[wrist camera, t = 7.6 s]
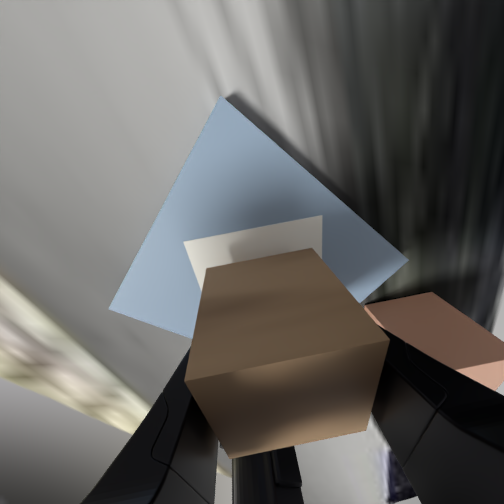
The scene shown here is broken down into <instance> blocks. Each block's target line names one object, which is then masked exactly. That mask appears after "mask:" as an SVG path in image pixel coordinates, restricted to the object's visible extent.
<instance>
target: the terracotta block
mask: <svg viewBox="0 0 504 504" xmlns="http://www.w3.org/2000/svg"><path fill="white" fill-rule="evenodd" d="M364 310H365V311H366V312H367V313H368V314H369V315H370V317H371V318H372V319H373V320H374V321H375V323H376V324H378V325H379V326H381V327H382V328H384V329H386V330H387V331H389V332H391V333H392V334H394V335H396V336H397V337H399V338H400V339H402V340H404V341H405V343H409V344H410V345H412V346H414V347H415V348H417V349H419V350H420V351H422V352H424V353H425V354H427V355H429V356H430V357H432V358H434V359H436V360H438V361H439V362H441V363H443V364H445V365H447V366H449V367H450V368H452V369H454V370H456V371H458V372H460V373H462V374H464V375H465V376H467V377H469V378H471V379H473V380H475V381H477V382H479V383H481V384H482V385H484V386H486V387H488V388H490V389H492V390H494V391H496V389H497V388H498V387H499V386H500V385H501V383H502V382H503V381H504V342H503V341H501V340H500V339H498V338H497V337H496V336H494V335H493V334H491V333H490V332H489V331H487V330H486V329H484V328H483V327H481V326H480V325H479V324H477V323H476V322H474V321H473V320H471V319H470V318H469V317H467V316H466V315H464V314H463V313H461V312H460V311H459V310H457V309H456V308H454V307H453V306H451V305H450V304H449V303H447V302H446V301H444V300H443V299H441V298H440V297H439V296H437V295H436V294H434V293H433V292H428V293H423V294H418V295H413V296H408V297H403V298H398V299H393V300H388V301H383V302H378V303H373V304H368V305H365V307H364Z"/></svg>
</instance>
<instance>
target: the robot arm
mask: <svg viewBox="0 0 504 504" xmlns="http://www.w3.org/2000/svg"><path fill="white" fill-rule="evenodd" d="M377 325H378V324H377ZM378 326H379V325H378ZM379 327H380V328H381V330H382V331H383V332H384V333H385V334H386V336H387V337H388V338H389V339H390V342H389V345H388V349H387V353H386V357H385V361H384V364H383V368H382V372H381V376H380V380H379V383H378V387H377V391H376V395H375V399H374V402H373V406H372V410H371V412H372V414H373V416H374V418H375V419H376V421H377V423H378V425H379V427H380V429H381V430H382V432H383V434H384V436H385V438H386V439H387V441H388V443H389V445H390V447H391V449H392V450H393V452H394V454H395V456H396V458H397V460H398V461H399V463H400V465H401V467H402V468H403V471H404V473H405V474H406V476H407V478H408V480H409V482H410V483H411V485H412V487H413V489H414V491H415V493H416V494H417V496H418V498H419V500H420V502H421V504H504V396H503V395H501V394H499V393H498V392H496V391H494V390H492V389H490V388H488V387H486V386H484V385H482V384H481V383H479V382H477V381H475V380H473V379H471V378H469V377H467V376H465V375H464V374H462V373H460V372H458V371H456V370H454V369H452V368H450V367H449V366H447V365H445V364H443V363H441V362H439V361H438V360H436V359H434V358H432V357H430V356H429V355H427V354H425V353H424V352H422V351H420V350H419V349H417V348H415V347H414V346H412V345H410V344H409V343H405V341H404V340H402V339H400V338H399V337H397V336H396V335H394V334H392V333H391V332H389V331H387V330H386V329H384V328H382V327H381V326H379ZM190 349H191V347H190V348H189V350H188V352H187V353H186V355H185V356H184V358H183V359H182V361H181V363H180V364H179V366H178V367H177V369H176V371H175V372H174V374H173V375H172V377H171V378H170V380H169V382H168V383H167V385H166V386H165V388H164V389H163V392H162V393H161V394H160V396H159V397H158V399H157V400H156V402H155V403H154V405H153V407H152V408H151V410H150V411H149V413H148V414H147V416H146V417H145V419H144V420H143V421H142V423H141V424H140V426H139V427H138V428H137V430H136V431H135V433H134V434H133V435H132V437H131V438H130V439H129V441H128V442H127V443H126V445H125V446H124V448H123V449H122V450H121V452H120V453H119V454H118V456H117V457H116V458H115V460H114V461H113V462H112V464H111V465H110V466H109V468H108V469H107V471H106V472H105V473H104V475H103V476H102V477H101V479H100V480H99V481H98V483H97V484H96V485H95V486H94V488H93V489H92V490H91V491H90V493H89V494H88V495H87V496H86V497H85V498H84V499H83V500H82V502H81V503H80V504H214V499H215V483H216V468H217V453H218V438H217V436H216V435H215V433H214V431H213V430H212V428H211V426H210V424H209V423H208V421H207V419H206V418H205V416H204V414H203V413H202V411H201V409H200V407H199V406H198V404H197V402H196V401H195V399H194V397H193V395H192V394H191V392H190V390H189V389H188V387H187V385H186V383H185V382H184V380H185V375H186V370H187V365H188V360H189V354H190ZM220 448H223V447H222V445H221V443H220ZM223 449H224V448H223ZM301 486H302V480H301V475H300V471H299V466H298V462H297V457H296V453H295V448H294V446H290V447H285V448H280V449H275V450H271V451H266V452H261V453H256V454H251V455H247V456H242V457H237V458H232V504H304V501H303V497H302V492H301Z"/></svg>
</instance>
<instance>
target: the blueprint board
mask: <svg viewBox="0 0 504 504" xmlns="http://www.w3.org/2000/svg"><path fill="white" fill-rule="evenodd" d="M308 248H313V249H314V251H315V252H316V253H317V254H318V255H319V256H320V258H321V259H322V260H323V261H324V262H325V264H326V265H327V266H328V267H329V268H330V269H331V271H332V272H333V273H334V274H335V275H336V277H337V278H338V279H339V280H340V281H341V282H342V284H343V285H344V286H345V287H346V288H347V290H348V291H349V292H350V293H351V294H352V295H353V297H354V298H355V299H356V300H357V301H358V302H359V303H360V302H361V301H363V300H364V299H365V298H366V297H367V296H368V295H369V294H371V293H372V292H373V291H374V290H375V289H376V288H378V287H379V286H380V285H381V284H382V283H383V282H384V281H386V280H387V279H388V278H389V277H390V276H391V275H392V274H394V273H395V272H396V271H397V270H398V269H399V268H400V267H402V266H403V265H404V264H405V263H406V262H407V261H408V259H407V258H406V257H405V256H404V255H403V254H401V253H400V252H399V251H398V250H397V249H396V248H395V247H393V246H392V245H391V244H390V243H389V242H388V241H387V240H385V239H384V238H383V237H382V236H381V235H380V234H379V233H377V232H376V231H375V230H374V229H373V228H372V227H371V226H369V225H368V224H367V223H366V222H365V221H364V220H363V219H361V218H360V217H359V216H358V215H357V214H356V213H355V212H353V211H352V210H351V209H350V208H349V207H348V206H347V205H345V204H344V203H343V202H342V201H341V200H340V199H339V198H337V197H336V196H335V195H334V194H333V193H332V192H331V191H329V190H328V189H327V188H326V187H325V186H324V185H323V184H321V183H320V182H319V181H318V180H317V179H316V178H315V177H313V176H312V175H311V174H310V173H309V172H308V171H307V170H305V169H304V168H303V167H302V166H301V165H300V164H299V163H297V162H296V161H295V160H294V159H293V158H292V157H291V156H289V155H288V154H287V153H286V152H285V151H284V150H283V149H281V148H280V147H279V146H278V145H277V144H276V143H275V142H273V141H272V140H271V139H270V138H269V137H268V136H267V135H265V134H264V133H263V132H262V131H261V130H260V129H259V128H257V127H256V126H255V125H254V124H253V123H252V122H251V121H249V120H248V119H247V118H246V117H245V116H244V115H243V114H241V113H240V112H239V111H238V110H237V109H236V108H235V107H233V106H232V105H231V104H230V103H229V102H228V101H227V100H225V99H224V98H223V97H222V96H220V98H219V99H218V101H217V103H216V105H215V107H214V109H213V111H212V113H211V115H210V117H209V118H208V120H207V122H206V124H205V126H204V128H203V130H202V132H201V134H200V136H199V138H198V139H197V141H196V143H195V145H194V147H193V149H192V151H191V153H190V155H189V157H188V158H187V160H186V162H185V164H184V166H183V168H182V170H181V172H180V174H179V176H178V178H177V179H176V181H175V183H174V185H173V187H172V189H171V191H170V193H169V195H168V197H167V198H166V200H165V202H164V204H163V206H162V208H161V210H160V212H159V214H158V216H157V218H156V219H155V221H154V223H153V225H152V227H151V229H150V231H149V233H148V235H147V237H146V238H145V240H144V242H143V244H142V246H141V248H140V250H139V252H138V254H137V256H136V258H135V259H134V261H133V263H132V265H131V267H130V269H129V271H128V273H127V275H126V277H125V278H124V280H123V282H122V284H121V286H120V288H119V290H118V292H117V294H116V296H115V298H114V299H113V301H112V303H111V305H110V307H109V310H112V311H115V312H118V313H121V314H124V315H126V316H129V317H132V318H135V319H138V320H140V321H143V322H146V323H149V324H152V325H154V326H157V327H160V328H163V329H166V330H169V331H171V332H174V333H177V334H180V335H183V336H185V337H188V338H191V339H193V334H194V329H195V324H196V319H197V313H198V308H199V303H200V298H201V293H202V288H203V283H204V278H205V273H206V268H210V267H215V266H221V265H226V264H231V263H236V262H241V261H246V260H251V259H257V258H262V257H267V256H272V255H277V254H282V253H287V252H293V251H298V250H303V249H308Z"/></svg>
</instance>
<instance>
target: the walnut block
mask: <svg viewBox="0 0 504 504" xmlns="http://www.w3.org/2000/svg"><path fill="white" fill-rule="evenodd" d="M389 342H390V339H389V338H388V337H387V336H386V334H385V333H384V332H383V331H382V330H381V328H380V327H379V326H378V325H377V324H376V323H375V321H374V320H373V319H372V318H371V317H370V315H369V314H368V313H367V312H366V311H365V310H364V308H363V307H362V306H361V305H360V304H359V302H358V301H357V300H356V299H355V298H354V297H353V295H352V294H351V293H350V292H349V291H348V290H347V288H346V287H345V286H344V285H343V284H342V282H341V281H340V280H339V279H338V278H337V277H336V275H335V274H334V273H333V272H332V271H331V269H330V268H329V267H328V266H327V265H326V264H325V262H324V261H323V260H322V259H321V258H320V256H319V255H318V254H317V253H316V252H315V251H314V249H313V248H308V249H303V250H298V251H293V252H287V253H282V254H277V255H272V256H267V257H262V258H257V259H251V260H246V261H241V262H236V263H231V264H226V265H221V266H215V267H210V268H206V273H205V278H204V283H203V288H202V293H201V298H200V303H199V308H198V313H197V319H196V324H195V329H194V334H193V339H192V344H191V349H190V354H189V360H188V365H187V370H186V375H185V380H184V382H185V383H186V385H187V387H188V389H189V390H190V392H191V394H192V395H193V397H194V399H195V401H196V402H197V404H198V406H199V407H200V409H201V411H202V413H203V414H204V416H205V418H206V419H207V421H208V423H209V424H210V426H211V428H212V430H213V431H214V433H215V435H216V436H217V438H218V440H219V442H220V443H221V445H222V447H223V448H224V450H225V452H226V453H227V455H228V457H229V459H232V458H237V457H242V456H247V455H251V454H256V453H261V452H266V451H271V450H275V449H280V448H285V447H290V446H294V445H299V444H304V443H309V442H314V441H318V440H323V439H328V438H333V437H338V436H342V435H347V434H352V433H357V432H361V431H366V429H367V425H368V421H369V418H370V414H371V410H372V406H373V402H374V399H375V395H376V391H377V387H378V383H379V380H380V376H381V372H382V368H383V364H384V361H385V357H386V353H387V349H388V345H389Z"/></svg>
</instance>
